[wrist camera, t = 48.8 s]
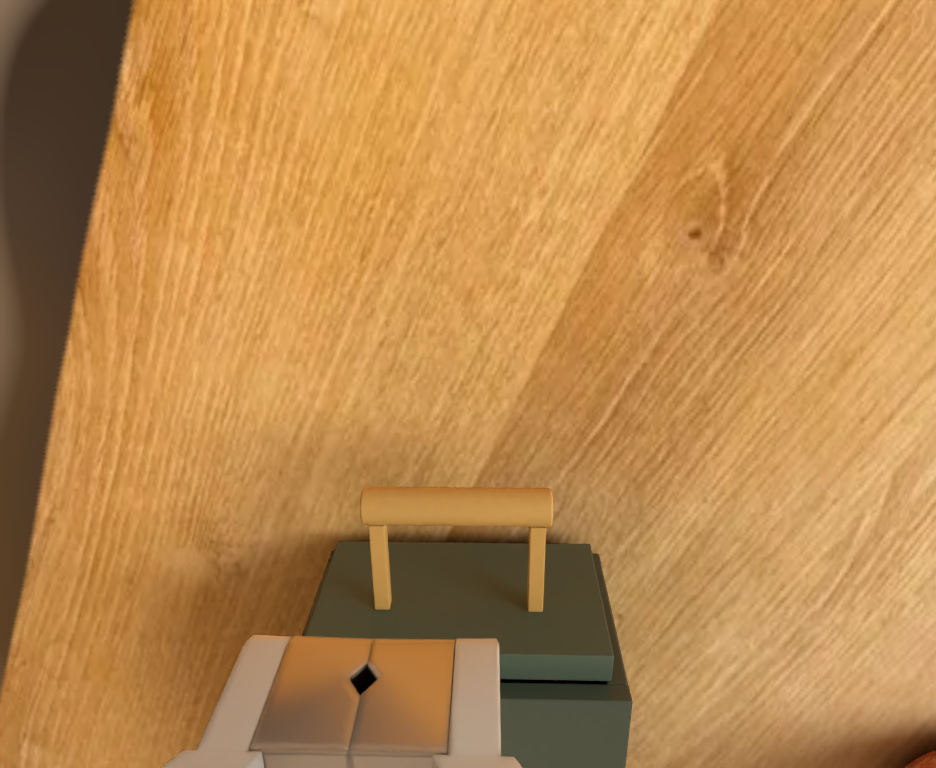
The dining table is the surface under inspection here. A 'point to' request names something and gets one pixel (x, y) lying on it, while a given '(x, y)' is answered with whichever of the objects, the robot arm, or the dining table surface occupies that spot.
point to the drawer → (471, 583)
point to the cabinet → (564, 712)
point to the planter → (924, 761)
